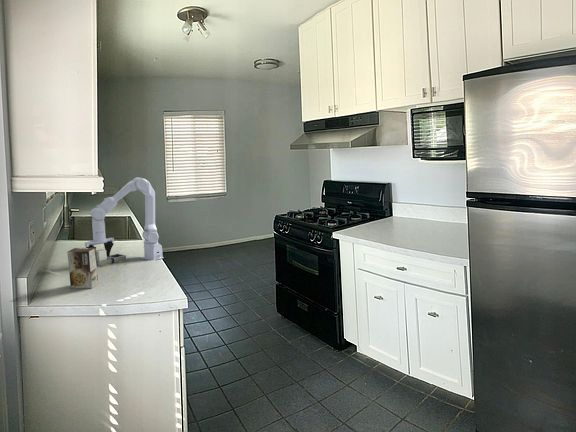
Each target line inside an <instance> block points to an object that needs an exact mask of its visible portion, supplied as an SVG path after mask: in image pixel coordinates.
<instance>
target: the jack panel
mask: <svg viewBox="0 0 576 432" xmlns="http://www.w3.org/2000/svg"><path fill="white" fill-rule="evenodd" d="M124 261H125V262H126V261H127V255H125V254H122V253H114V254H110V256H109V257H107V260H103V261H97V268H103V267H106V266H109V265H113V264H118V263H122V262H124Z"/></svg>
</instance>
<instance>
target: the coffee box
mask: <svg viewBox="0 0 576 432" xmlns="http://www.w3.org/2000/svg"><path fill="white" fill-rule="evenodd" d="M96 250H97V247H96V248H86V247H74V248H72V249H70V250H68V251H67V252H66V253H67V261H68V262H67V263H68V271H69V274H68V275H69V284H70V286H69V287H70V289H93V288H94V287H96V286H98V284H99V277H98V267H97V261H96Z"/></svg>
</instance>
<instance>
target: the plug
mask: <svg viewBox="0 0 576 432" xmlns="http://www.w3.org/2000/svg"><path fill="white" fill-rule="evenodd" d="M103 260H107V254H106V250H105V249H103V248H100V249H96V261H103Z"/></svg>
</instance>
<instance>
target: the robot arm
mask: <svg viewBox="0 0 576 432" xmlns="http://www.w3.org/2000/svg"><path fill="white" fill-rule="evenodd" d="M135 191H139V192H141V193H142V194H143V195H144V209H145V210H144V211H145V212H144V216H145V217H144V218H145V222H144V227H143V231H142V234H141V235H142V238H143V239H144V240H143V253H144V254H143V256H142V257H140V258H141V259H143V260H144V259H145V260H149V261H157V260H160V259H161V260H162V259H164V256H163V246H162V244H160V243H159V238H160V236H159V233H158V228H157V226H156V192H155V190H154V188H153V186H152V184H151V183H150V181H149V180H147V179H146V178H143V177H134V178H133V179H132V180H130V181H128V182H127V183H126V184H125V185H123V187H121V189H120V190H118V192H116V193H115V194H114V195H113V196H108V197H105V198H103V201H102V202H101V203H99V204H97V205H96V207H94V208H92V209H91V210H90V211H91V212H90V213H89V215H90V216H91V225H92V229H91V230H92V240H90V241H85V242H84V248H96V249H97V247H96V245H102V244H103V246H104V250H106V254H107V257H109V256H110V255H111V251H112V249H113V246H114V242H115V238H114V237H108V238H107V237H106V234H107V233H106V221H105V218H106V215H107V214H109V213H110V212H111V211H112V210H113V209H114V208H116V207H117V206H118V201H120V200H121V199H122V198H124V197H125V196H127V195H128V194H129V193H132V192H135ZM160 257H161V258H160Z"/></svg>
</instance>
